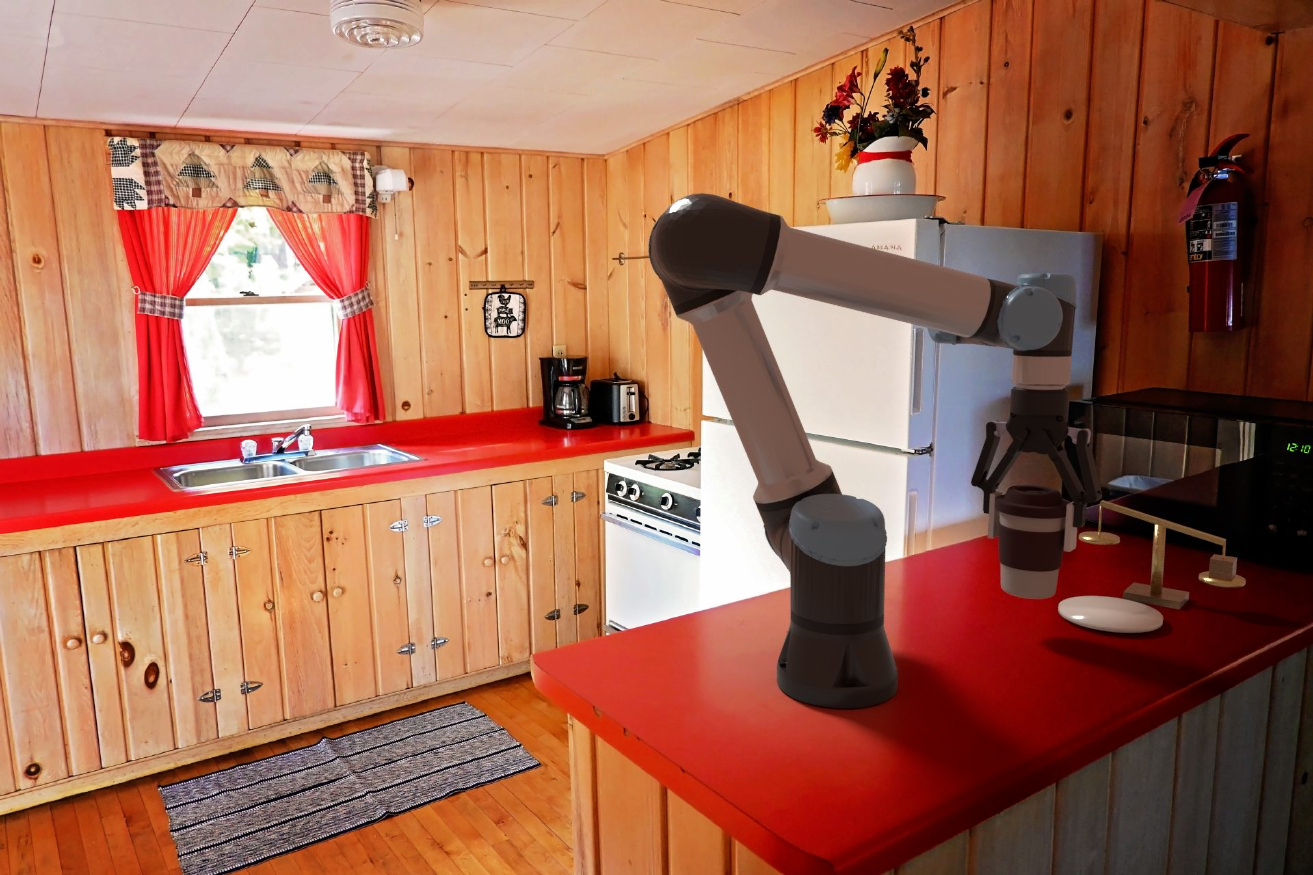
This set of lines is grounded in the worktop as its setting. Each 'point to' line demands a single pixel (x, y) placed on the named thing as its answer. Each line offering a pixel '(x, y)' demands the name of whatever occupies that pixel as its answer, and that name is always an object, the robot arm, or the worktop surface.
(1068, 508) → the robot arm
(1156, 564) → the balance
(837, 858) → the worktop surface
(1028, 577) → the coffee cup
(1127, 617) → the saucer
